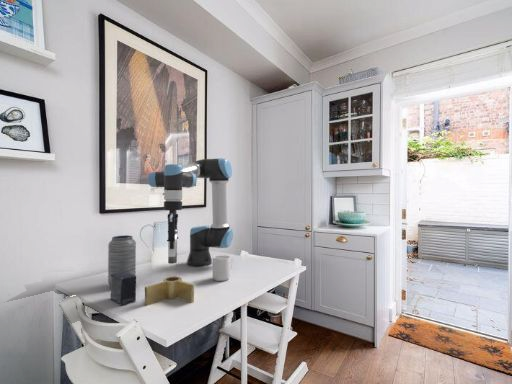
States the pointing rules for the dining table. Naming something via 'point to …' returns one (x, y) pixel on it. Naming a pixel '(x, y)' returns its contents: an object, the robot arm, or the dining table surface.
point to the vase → (121, 255)
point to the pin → (173, 259)
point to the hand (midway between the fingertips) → (172, 255)
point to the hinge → (169, 290)
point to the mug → (222, 267)
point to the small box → (123, 288)
